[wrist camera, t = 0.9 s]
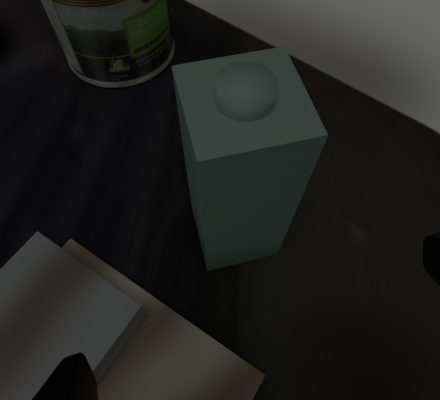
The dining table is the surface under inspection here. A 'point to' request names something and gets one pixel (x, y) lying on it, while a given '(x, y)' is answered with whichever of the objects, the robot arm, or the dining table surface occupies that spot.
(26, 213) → the dining table surface
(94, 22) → the coffee can
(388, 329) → the dining table surface
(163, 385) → the board
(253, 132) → the pillar
